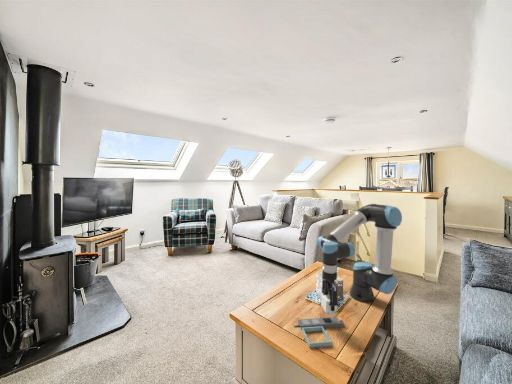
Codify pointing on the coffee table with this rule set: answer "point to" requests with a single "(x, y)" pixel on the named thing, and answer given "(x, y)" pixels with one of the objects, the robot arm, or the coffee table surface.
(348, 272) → the coffee table surface
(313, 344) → the teal square frame
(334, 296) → the robot arm
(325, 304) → the charger
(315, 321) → the power strip
